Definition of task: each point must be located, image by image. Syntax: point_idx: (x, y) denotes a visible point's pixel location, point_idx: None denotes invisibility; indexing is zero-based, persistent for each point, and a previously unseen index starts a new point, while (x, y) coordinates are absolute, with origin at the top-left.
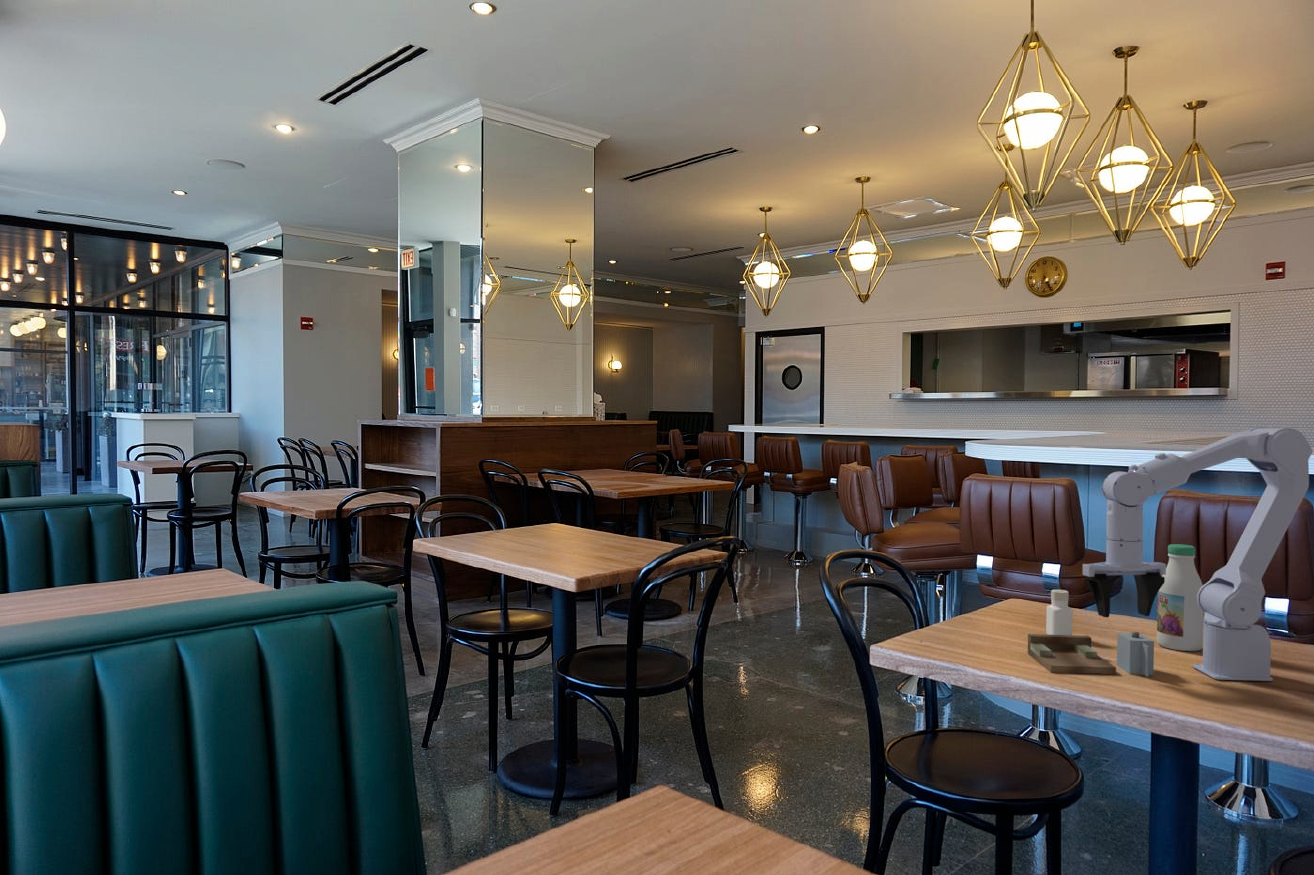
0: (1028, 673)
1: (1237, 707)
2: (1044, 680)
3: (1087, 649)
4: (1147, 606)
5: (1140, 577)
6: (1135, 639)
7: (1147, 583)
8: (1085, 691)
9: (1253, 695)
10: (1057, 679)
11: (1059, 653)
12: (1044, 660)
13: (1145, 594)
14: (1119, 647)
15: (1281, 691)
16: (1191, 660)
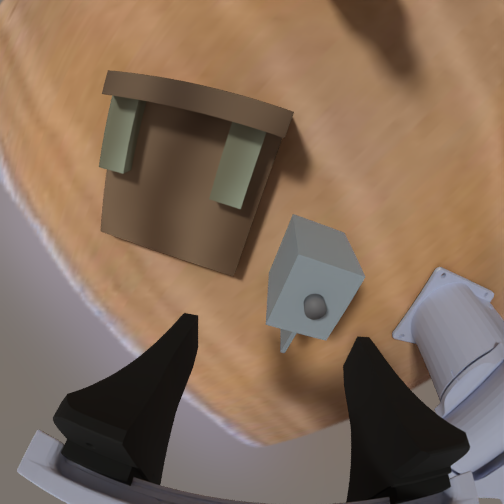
0: (70, 220)
1: (293, 404)
2: (81, 261)
3: (229, 181)
4: (346, 398)
5: (388, 473)
6: (289, 321)
7: (363, 473)
8: (121, 320)
9: None
10: (103, 263)
11: (171, 140)
12: (104, 193)
13: (361, 426)
14: (290, 248)
15: (416, 374)
16: (477, 227)
